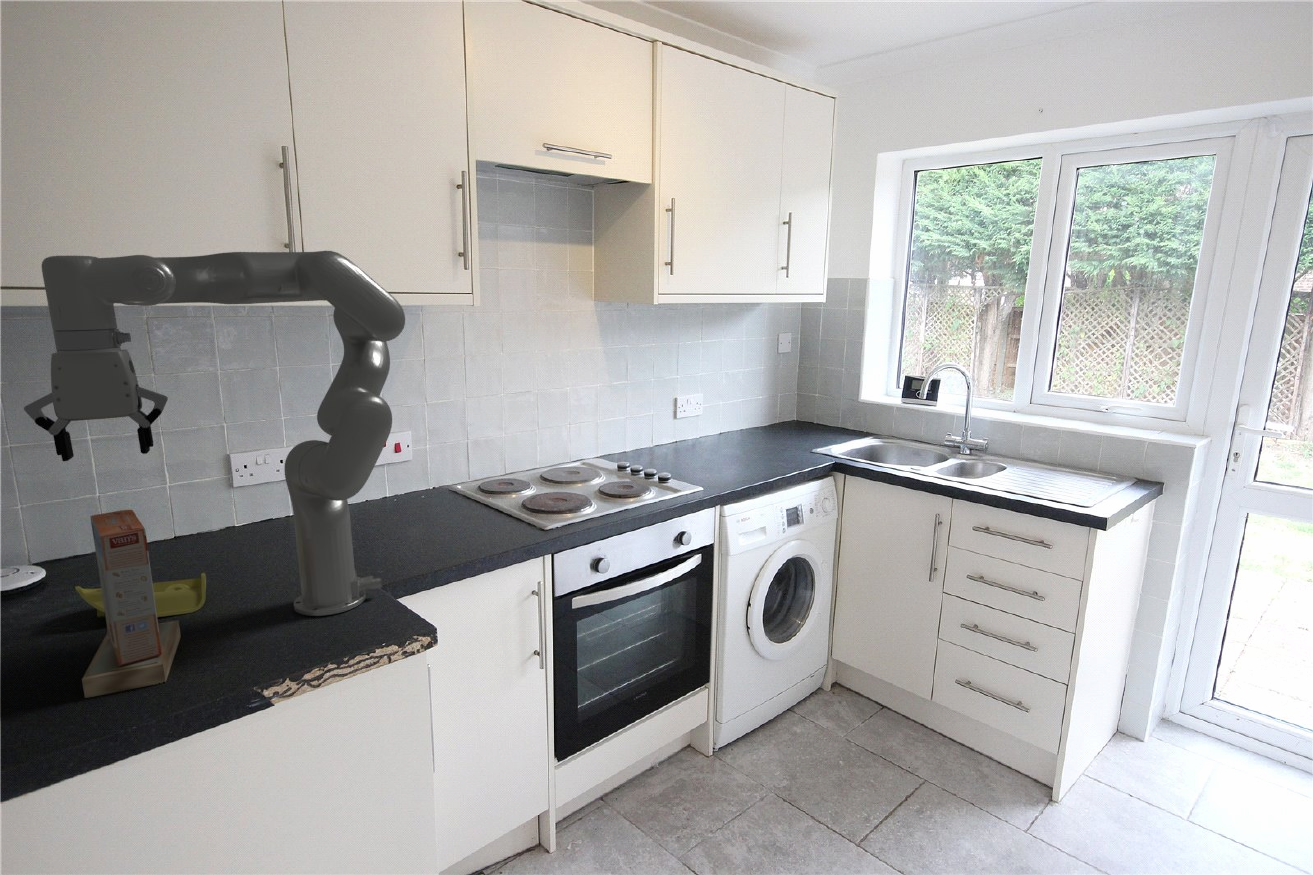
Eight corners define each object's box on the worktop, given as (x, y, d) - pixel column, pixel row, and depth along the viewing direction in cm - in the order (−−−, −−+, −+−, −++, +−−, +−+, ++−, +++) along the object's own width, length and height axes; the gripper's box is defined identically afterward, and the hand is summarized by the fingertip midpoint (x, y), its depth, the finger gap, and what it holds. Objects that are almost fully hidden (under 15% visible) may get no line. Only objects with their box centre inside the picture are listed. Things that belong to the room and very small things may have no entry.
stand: (180, 636, 127) (178, 619, 126) (165, 682, 112) (162, 663, 111) (110, 648, 122) (107, 631, 122) (85, 698, 107) (81, 678, 107)
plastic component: (206, 577, 147) (204, 571, 139) (207, 614, 145) (205, 610, 137) (82, 591, 137) (72, 585, 128) (81, 631, 135) (72, 628, 127)
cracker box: (165, 655, 113) (146, 526, 109) (118, 668, 109) (96, 535, 105) (151, 625, 124) (133, 506, 119) (107, 636, 120) (87, 514, 116)
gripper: (162, 338, 114) (178, 445, 118) (21, 343, 107) (43, 457, 110) (153, 341, 107) (171, 454, 111) (3, 347, 100) (27, 468, 104)
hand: (107, 455), depth 111 cm, fingers open, 9 cm apart
